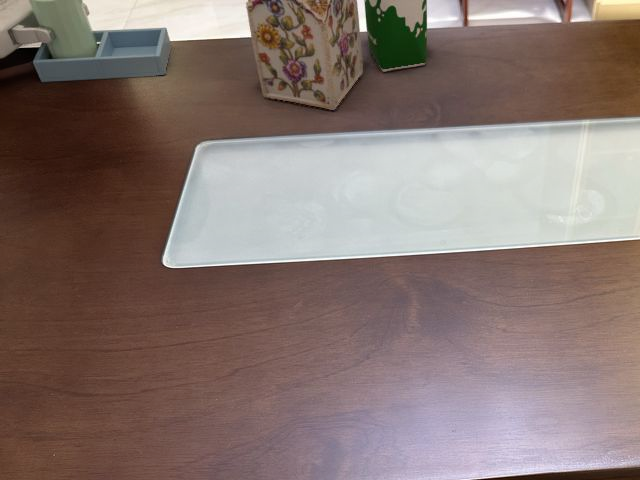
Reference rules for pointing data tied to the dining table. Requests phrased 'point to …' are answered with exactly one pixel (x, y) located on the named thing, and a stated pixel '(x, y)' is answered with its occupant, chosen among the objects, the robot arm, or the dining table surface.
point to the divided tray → (111, 57)
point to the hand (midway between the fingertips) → (69, 23)
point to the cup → (66, 28)
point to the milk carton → (397, 31)
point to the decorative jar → (306, 49)
